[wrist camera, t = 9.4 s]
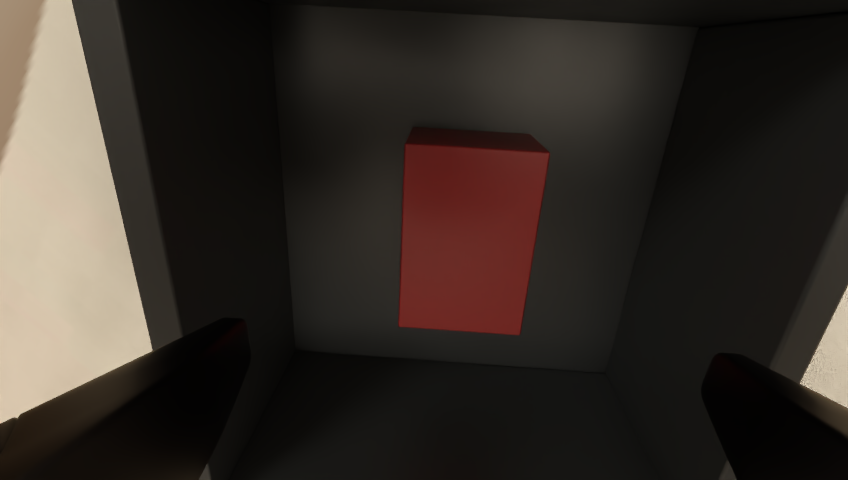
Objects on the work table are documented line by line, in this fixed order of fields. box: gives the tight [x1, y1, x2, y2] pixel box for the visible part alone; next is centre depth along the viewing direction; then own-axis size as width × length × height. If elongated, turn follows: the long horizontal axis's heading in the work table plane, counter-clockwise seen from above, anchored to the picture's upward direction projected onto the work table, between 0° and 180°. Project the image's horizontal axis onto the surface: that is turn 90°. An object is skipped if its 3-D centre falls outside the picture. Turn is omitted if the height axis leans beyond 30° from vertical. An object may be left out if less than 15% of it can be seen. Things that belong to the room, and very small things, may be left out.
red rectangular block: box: [398, 127, 550, 335], centre depth 14 cm, size 6×4×3 cm, turn 177°
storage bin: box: [72, 0, 848, 480], centre depth 13 cm, size 15×15×8 cm
